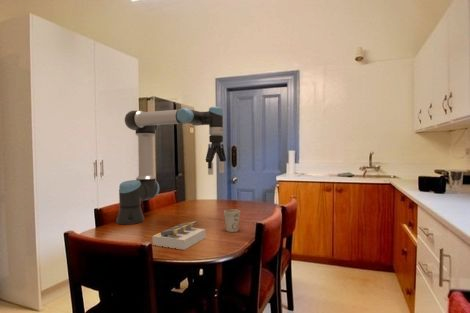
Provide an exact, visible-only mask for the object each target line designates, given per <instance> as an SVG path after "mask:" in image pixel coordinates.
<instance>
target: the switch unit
mask: <svg viewBox="0 0 470 313" xmlns="http://www.w3.org/2000/svg"><path fill="white" fill-rule="evenodd" d="M176 226H177V225H175V226H174V227H176ZM169 229H170V228H168V229H167V230H169ZM204 239H206V229H205V228H197V227H191V228H188V229H186V230H184V231H182V232H179V233H175V234H168V235H162V236H161V232H158V233H156V234H154V235H152V246H155V245H156V247H162V246H163V247H162V248H168V247H169V249H175V248H176V250H177V249H178V250H182V251H183V250H184V251H185V250H187V249H188V248H190V247H192V246H194V245H196V244H198V243H199V242H200V241H203V240H204Z"/></svg>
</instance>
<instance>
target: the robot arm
mask: <svg viewBox="0 0 470 313" xmlns="http://www.w3.org/2000/svg"><path fill="white" fill-rule="evenodd" d="M223 112H224V111H223V108H222V107H220V106H211V107H209V108H208V110H207V111H199V110H194V109H191V108H187V107H182V108H180V109H168V110H157V111H155V110H153V111H142V110H130V111H128V112H126V114H125V117H124V123H125V126H126V128H128V129H130V130H132V131H135V135H136V136H137V139H138V140H137V141H138V143H137V144H138V146H137V147H138V148H137V150H138V152H137V153H138V176H137V177H136V178H135V179H132V180H126V181H123V182H121V183H120V184H119V189H118V195H119V198H118V199H119V200H118V201H119V202H118V203H119V210H118V213H117V217H116V224H118V225H134V224H135V225H136V224H140V223H143V222H145V215H144V214H143V210H142V202H143V201H147V200H148V201H149V200H152V199H154V198H156V197H157V196H158V195H159V193H160V184H159V183H158V181H157V180H156V177H155V175H154V160H153V159H154V157H153V156H154V155H153V154H154V150H153V149H154V147H153V146H154V145H153V144H154V143H153V142H154V141H153V137H154V136H155V135H156V131H157V130H158V128H159V126H161V125H178V124H179V125H180V124H188V125H191V126H197V127H198V126H209V130H208V135H209V136H208V138H209V139H208V141H209V143H208V148H207V152H206V156H205V163H207V175H209V176H210V175H214V162H213V160H214V158H215V156H216V154H217V156H218V158H219V162H218V163H219V164H218V166H219V167H218V171H219V173H220V174H223V173H225V162H226V160H227V159H226V158H227V157H226V153H225V149H224V143H223V142H224V136H223V135H224V134H223V133H224V126H223V125H224V124H223V123H224V122H223V121H224V113H223Z"/></svg>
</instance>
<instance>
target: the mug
mask: <svg viewBox="0 0 470 313" xmlns="http://www.w3.org/2000/svg"><path fill="white" fill-rule="evenodd" d="M223 214H224V222H225V229H226V231H227V232H228V233H237V232H238V231H239V228H240V219H241V210H239V209H233V208H232V209H225V210H224V211H223Z"/></svg>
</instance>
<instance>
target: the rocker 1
mask: <svg viewBox="0 0 470 313" xmlns="http://www.w3.org/2000/svg"><path fill="white" fill-rule="evenodd" d="M169 229H170V228H169ZM182 231H184V230H183V227H182V228H176V229H170V230H168V229H165V230H163V231H160V233H161V236H162V235H168V234H175V233H179V232H182Z"/></svg>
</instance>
